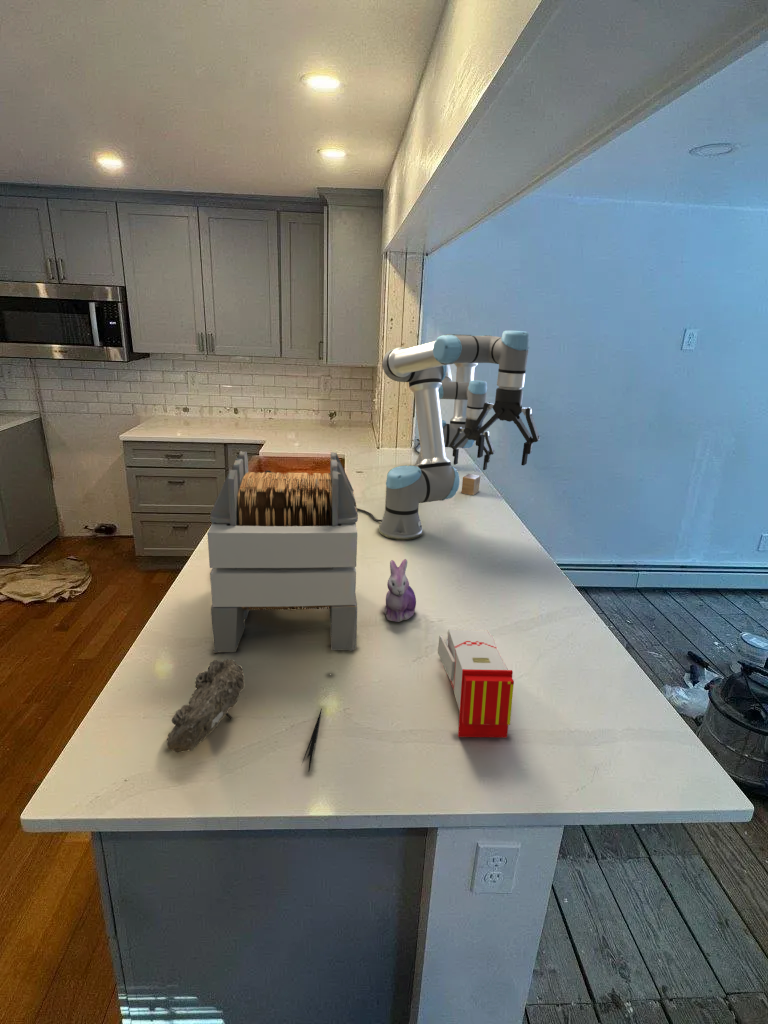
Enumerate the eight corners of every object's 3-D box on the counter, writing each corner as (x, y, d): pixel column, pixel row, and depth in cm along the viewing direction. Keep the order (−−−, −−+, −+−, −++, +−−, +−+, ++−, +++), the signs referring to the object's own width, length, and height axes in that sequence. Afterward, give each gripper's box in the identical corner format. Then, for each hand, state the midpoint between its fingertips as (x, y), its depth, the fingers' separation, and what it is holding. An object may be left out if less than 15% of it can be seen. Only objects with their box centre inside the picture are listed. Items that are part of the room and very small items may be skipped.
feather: (331, 679, 122) (336, 673, 122) (307, 777, 96) (313, 769, 95) (324, 675, 122) (329, 669, 121) (298, 772, 95) (304, 764, 95)
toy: (488, 613, 130) (523, 677, 101) (484, 667, 133) (517, 744, 104) (435, 612, 130) (455, 676, 101) (432, 666, 133) (451, 743, 103)
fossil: (192, 660, 117) (244, 628, 112) (224, 691, 120) (276, 661, 115) (142, 746, 98) (202, 712, 93) (182, 779, 101) (242, 748, 96)
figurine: (392, 627, 141) (395, 572, 136) (374, 608, 149) (376, 556, 144) (425, 619, 145) (429, 566, 140) (405, 601, 154) (408, 550, 149)
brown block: (472, 495, 245) (474, 479, 243) (461, 493, 248) (462, 477, 245) (478, 491, 251) (480, 475, 248) (467, 489, 253) (468, 473, 251)
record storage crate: (232, 584, 158) (225, 442, 144) (349, 583, 162) (353, 444, 148) (211, 655, 127) (198, 480, 113) (357, 651, 130) (362, 482, 117)
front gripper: (557, 391, 158) (546, 465, 165) (473, 382, 169) (467, 451, 177) (550, 394, 152) (539, 470, 159) (464, 384, 163) (457, 456, 171)
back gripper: (506, 420, 236) (500, 469, 244) (451, 413, 248) (447, 460, 255) (500, 423, 230) (494, 473, 238) (444, 415, 242) (440, 463, 249)
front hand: (501, 460), depth 168 cm, fingers open, 13 cm apart
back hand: (470, 466), depth 246 cm, fingers open, 13 cm apart
